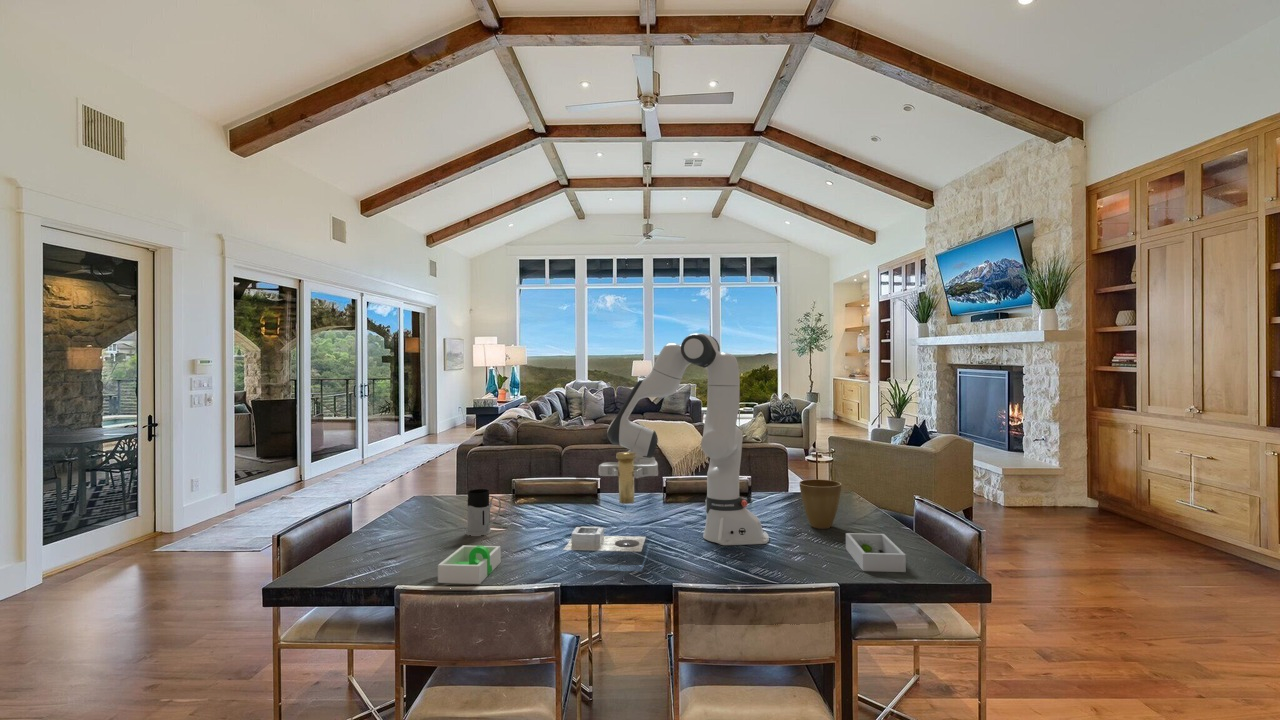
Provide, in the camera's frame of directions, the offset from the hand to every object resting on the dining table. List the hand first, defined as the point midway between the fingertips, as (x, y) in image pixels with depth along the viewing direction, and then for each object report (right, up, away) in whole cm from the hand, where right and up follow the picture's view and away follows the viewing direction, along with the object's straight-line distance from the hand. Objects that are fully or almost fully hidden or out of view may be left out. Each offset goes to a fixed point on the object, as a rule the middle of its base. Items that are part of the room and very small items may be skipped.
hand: (626, 473), depth 199 cm
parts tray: (-45, -25, -21) cm, 56 cm away
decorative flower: (+76, -24, -14) cm, 81 cm away
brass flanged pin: (0, -9, +1) cm, 10 cm away
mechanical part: (-45, -25, -21) cm, 56 cm away
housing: (-7, -25, +2) cm, 26 cm away
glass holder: (-51, -25, +19) cm, 60 cm away
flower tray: (+76, -24, -13) cm, 81 cm away
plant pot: (+71, -24, +25) cm, 79 cm away
